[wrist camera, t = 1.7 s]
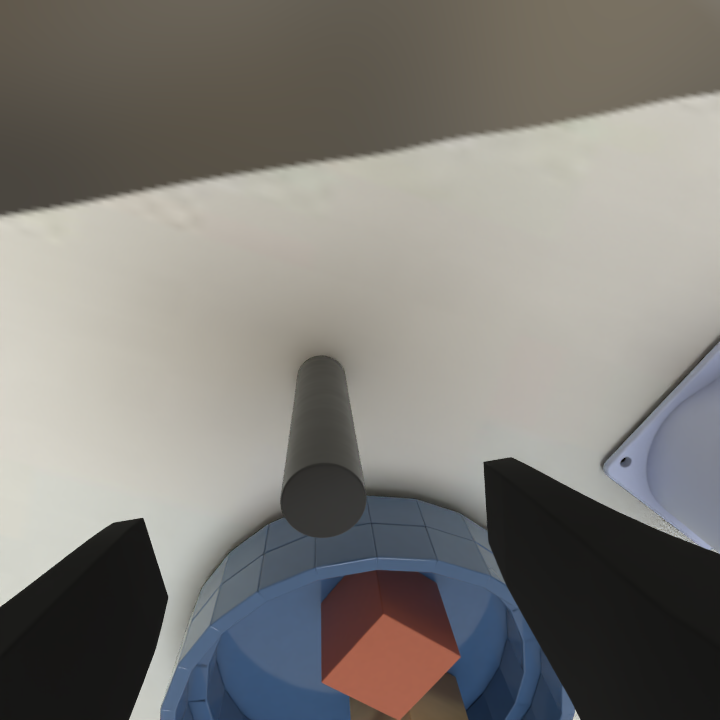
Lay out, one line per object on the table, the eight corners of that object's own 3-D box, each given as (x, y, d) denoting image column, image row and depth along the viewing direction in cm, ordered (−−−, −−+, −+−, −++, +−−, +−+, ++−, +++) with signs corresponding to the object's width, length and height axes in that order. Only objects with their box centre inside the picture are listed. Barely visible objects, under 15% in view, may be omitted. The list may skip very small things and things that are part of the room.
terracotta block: (371, 543, 21) (383, 614, 17) (436, 582, 22) (461, 657, 18) (320, 603, 22) (320, 683, 18) (385, 638, 23) (399, 721, 19)
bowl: (328, 421, 20) (331, 475, 16) (595, 597, 24) (656, 679, 20) (122, 682, 23) (77, 788, 19) (391, 799, 27) (405, 909, 23)
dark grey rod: (316, 346, 19) (314, 447, 10) (354, 373, 19) (383, 492, 11) (287, 383, 19) (263, 512, 11) (326, 409, 20) (333, 552, 11)
